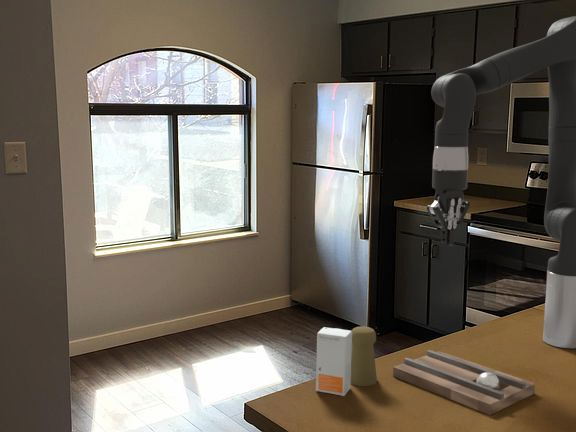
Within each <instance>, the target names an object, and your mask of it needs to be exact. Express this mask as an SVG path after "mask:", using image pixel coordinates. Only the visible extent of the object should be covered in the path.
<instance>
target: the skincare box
mask: <svg viewBox="0 0 576 432" xmlns="http://www.w3.org/2000/svg"><path fill="white" fill-rule="evenodd" d="M352 346H353V343H352V330H348V329H342V328H336V327H335V328H333V327H325V326H323V327H322V328H320V330H319V331H318V332H317V333H316V360H315V361H316V363H315V364H316V366H315V370H316V371H315V391H316V392H321V393H327V394H333V395H337V396H341V397H345V396H346V395H347V393H348V392H349V391H350V389H351V386H352V384H351V353H352Z"/></svg>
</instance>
